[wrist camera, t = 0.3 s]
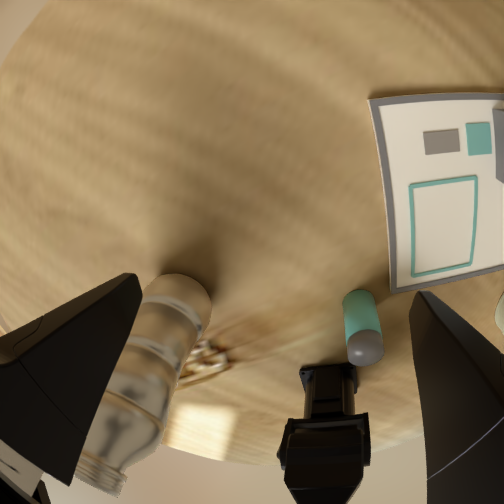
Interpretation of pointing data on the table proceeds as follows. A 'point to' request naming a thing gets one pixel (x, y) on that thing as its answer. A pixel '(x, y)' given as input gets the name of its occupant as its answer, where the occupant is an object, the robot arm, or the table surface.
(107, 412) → the plastic bottle
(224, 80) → the table surface
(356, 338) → the teal cylinder
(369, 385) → the table surface
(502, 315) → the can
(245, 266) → the table surface
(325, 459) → the robot arm
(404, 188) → the activity board
